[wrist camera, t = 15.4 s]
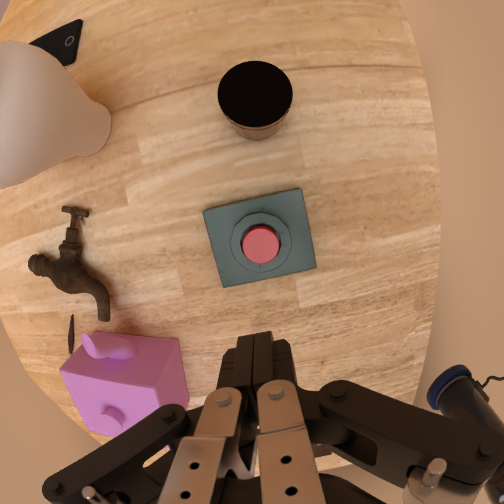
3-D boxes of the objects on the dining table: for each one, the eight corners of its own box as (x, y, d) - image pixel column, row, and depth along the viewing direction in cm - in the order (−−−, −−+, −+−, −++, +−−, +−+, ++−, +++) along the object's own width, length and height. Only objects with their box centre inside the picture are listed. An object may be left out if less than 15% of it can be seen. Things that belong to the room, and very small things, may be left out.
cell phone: (75, 62, 30) (72, 60, 29) (6, 94, 31) (3, 93, 30) (83, 19, 28) (80, 17, 27) (14, 54, 29) (11, 53, 28)
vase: (80, 199, 36) (-94, 250, 8) (42, 130, 33) (-109, 127, 5) (152, 131, 34) (-41, 81, 6) (105, 63, 31) (-42, -10, 3)
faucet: (40, 284, 40) (48, 198, 38) (117, 315, 40) (129, 217, 37) (23, 291, 35) (29, 198, 33) (101, 326, 35) (112, 217, 33)
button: (274, 221, 33) (274, 224, 31) (281, 255, 34) (282, 259, 32) (239, 229, 33) (238, 232, 31) (247, 262, 34) (247, 267, 32)
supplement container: (275, 148, 34) (281, 136, 24) (222, 134, 34) (207, 117, 23) (290, 99, 32) (301, 71, 22) (238, 85, 32) (229, 53, 22)
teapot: (172, 295, 39) (134, 349, 26) (193, 417, 46) (177, 476, 32) (85, 291, 40) (32, 332, 26) (120, 406, 46) (93, 456, 33)
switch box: (298, 187, 35) (303, 188, 31) (313, 263, 37) (319, 272, 34) (205, 209, 36) (198, 213, 32) (225, 282, 39) (221, 293, 35)
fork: (79, 316, 41) (73, 322, 39) (76, 378, 45) (72, 384, 43) (68, 310, 41) (61, 315, 39) (66, 372, 45) (61, 377, 43)
